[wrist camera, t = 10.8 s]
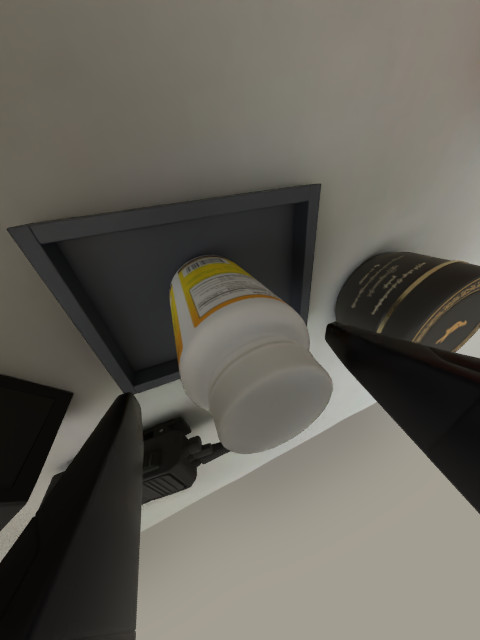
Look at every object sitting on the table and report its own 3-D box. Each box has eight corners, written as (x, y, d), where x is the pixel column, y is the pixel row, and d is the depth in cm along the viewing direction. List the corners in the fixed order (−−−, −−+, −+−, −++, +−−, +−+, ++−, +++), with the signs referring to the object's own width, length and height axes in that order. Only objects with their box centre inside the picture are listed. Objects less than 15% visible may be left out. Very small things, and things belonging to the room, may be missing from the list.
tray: (300, 185, 13) (321, 183, 12) (293, 324, 20) (306, 335, 18) (30, 223, 10) (4, 228, 8) (129, 377, 16) (126, 397, 15)
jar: (311, 315, 20) (379, 366, 14) (383, 224, 17) (506, 238, 11) (356, 342, 25) (419, 387, 19) (416, 275, 23) (511, 304, 17)
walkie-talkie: (21, 488, 15) (258, 397, 17) (81, 450, 21) (252, 386, 23) (33, 577, 14) (284, 472, 16) (93, 511, 20) (271, 440, 22)
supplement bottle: (215, 335, 16) (274, 471, 8) (151, 302, 13) (144, 471, 5) (258, 282, 15) (377, 379, 7) (201, 233, 12) (294, 304, 4)
